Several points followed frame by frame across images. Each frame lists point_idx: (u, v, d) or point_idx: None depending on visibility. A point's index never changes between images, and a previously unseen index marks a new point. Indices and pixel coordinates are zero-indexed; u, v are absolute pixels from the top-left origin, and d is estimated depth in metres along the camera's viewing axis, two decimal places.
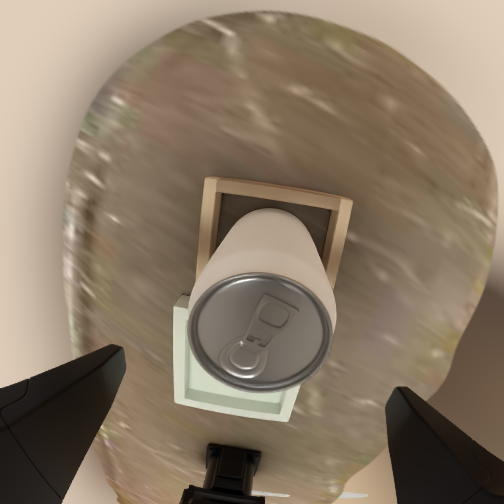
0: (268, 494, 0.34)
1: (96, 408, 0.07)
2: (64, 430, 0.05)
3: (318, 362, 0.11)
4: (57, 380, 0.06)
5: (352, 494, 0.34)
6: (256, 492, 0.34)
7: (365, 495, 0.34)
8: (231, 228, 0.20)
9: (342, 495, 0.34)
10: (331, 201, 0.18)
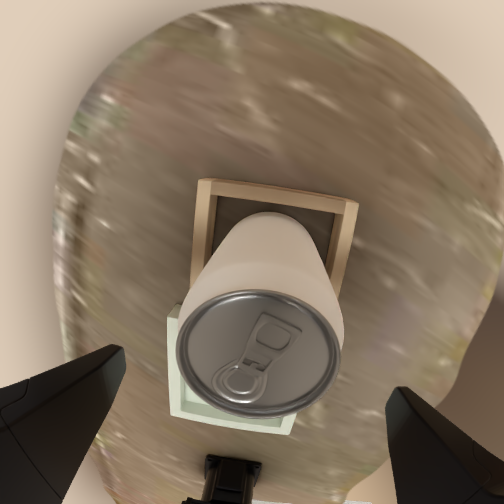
0: (269, 503, 0.32)
1: (96, 408, 0.07)
2: (64, 430, 0.05)
3: (323, 386, 0.10)
4: (57, 380, 0.06)
5: (356, 502, 0.32)
6: (257, 501, 0.32)
7: (368, 503, 0.32)
8: (227, 234, 0.18)
9: (345, 503, 0.32)
10: (336, 204, 0.17)
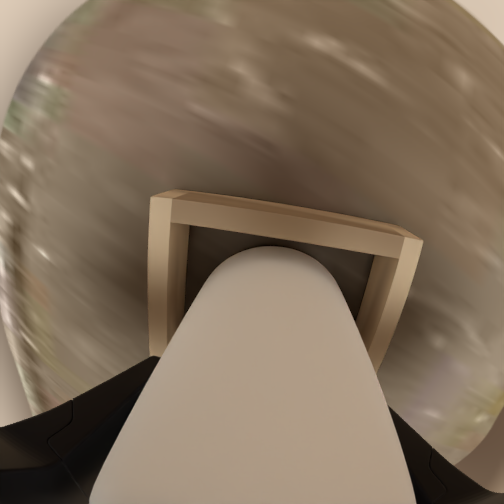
0: None
1: None
2: None
3: None
4: (105, 400, 0.06)
5: None
6: None
7: None
8: (202, 287, 0.11)
9: None
10: (388, 242, 0.09)
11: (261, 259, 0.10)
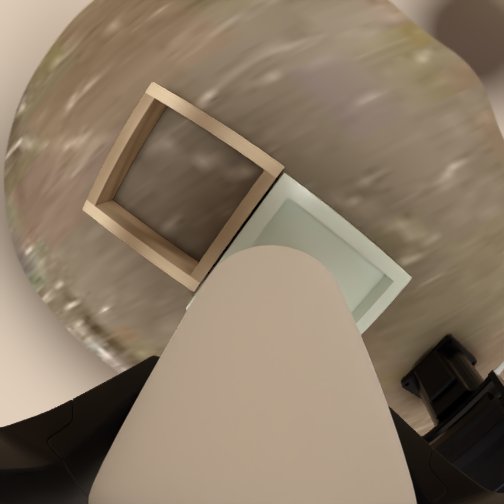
0: None
1: None
2: None
3: None
4: (105, 400, 0.06)
5: None
6: (500, 368, 0.22)
7: None
8: (202, 286, 0.11)
9: None
10: (143, 102, 0.16)
11: (260, 258, 0.10)
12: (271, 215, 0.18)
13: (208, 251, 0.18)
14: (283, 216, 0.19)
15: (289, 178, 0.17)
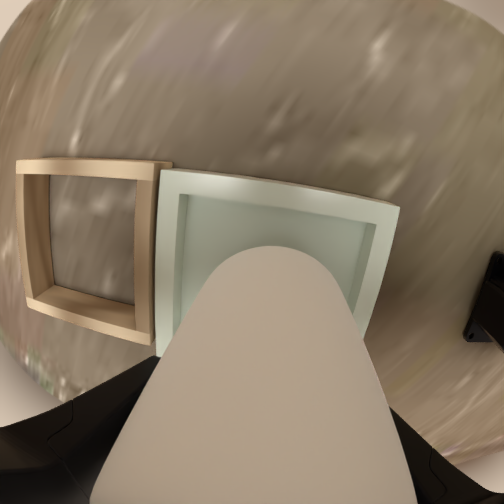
0: None
1: None
2: None
3: None
4: (105, 400, 0.06)
5: None
6: None
7: None
8: (203, 287, 0.11)
9: None
10: (18, 183, 0.13)
11: (261, 259, 0.10)
12: (174, 224, 0.13)
13: (136, 297, 0.14)
14: (199, 217, 0.15)
15: (169, 172, 0.13)
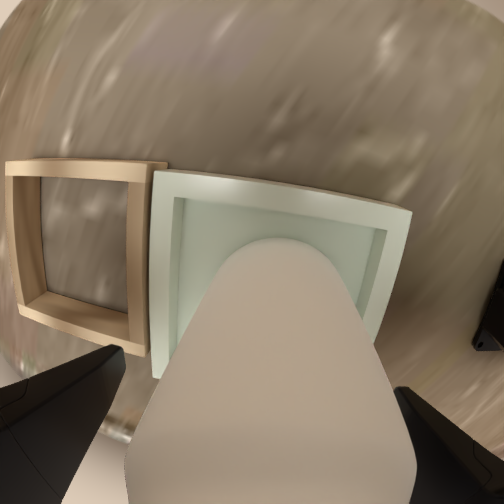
0: None
1: (96, 408, 0.07)
2: (64, 430, 0.05)
3: None
4: (57, 380, 0.06)
5: None
6: None
7: None
8: (215, 275, 0.12)
9: None
10: (7, 185, 0.12)
11: (267, 248, 0.12)
12: (169, 230, 0.12)
13: (129, 307, 0.13)
14: (196, 222, 0.14)
15: (163, 173, 0.12)
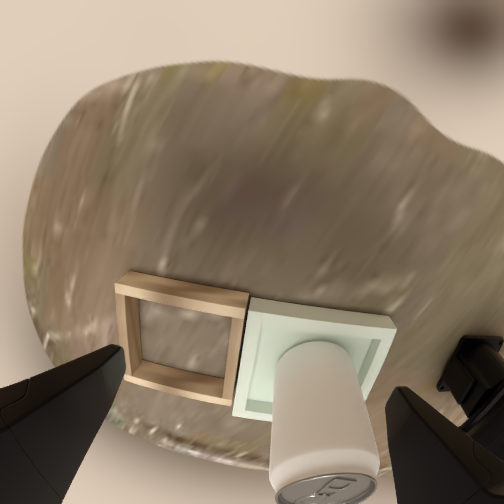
0: None
1: (96, 408, 0.07)
2: (64, 430, 0.05)
3: (363, 496, 0.12)
4: (57, 380, 0.06)
5: None
6: None
7: None
8: (284, 367, 0.20)
9: None
10: (118, 300, 0.20)
11: (315, 354, 0.20)
12: (256, 342, 0.21)
13: (225, 380, 0.22)
14: (268, 330, 0.22)
15: (254, 312, 0.20)
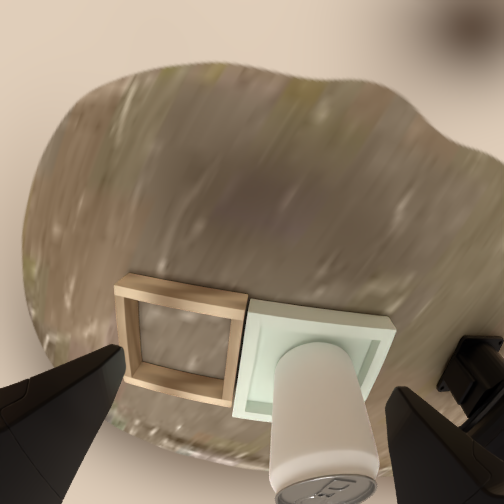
0: None
1: (96, 408, 0.07)
2: (64, 430, 0.05)
3: (363, 496, 0.12)
4: (57, 380, 0.06)
5: None
6: None
7: None
8: (284, 368, 0.20)
9: None
10: (118, 302, 0.20)
11: (314, 355, 0.20)
12: (255, 343, 0.21)
13: (225, 382, 0.22)
14: (268, 332, 0.22)
15: (254, 314, 0.20)
